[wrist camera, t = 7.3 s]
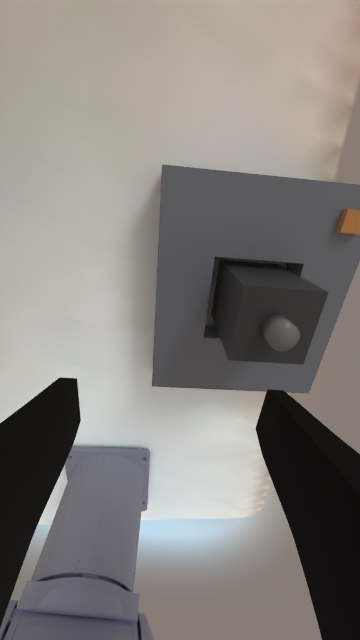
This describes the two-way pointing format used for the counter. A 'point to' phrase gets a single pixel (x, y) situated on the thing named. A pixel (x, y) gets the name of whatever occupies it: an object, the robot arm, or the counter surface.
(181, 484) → the counter surface
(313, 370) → the plate
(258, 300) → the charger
